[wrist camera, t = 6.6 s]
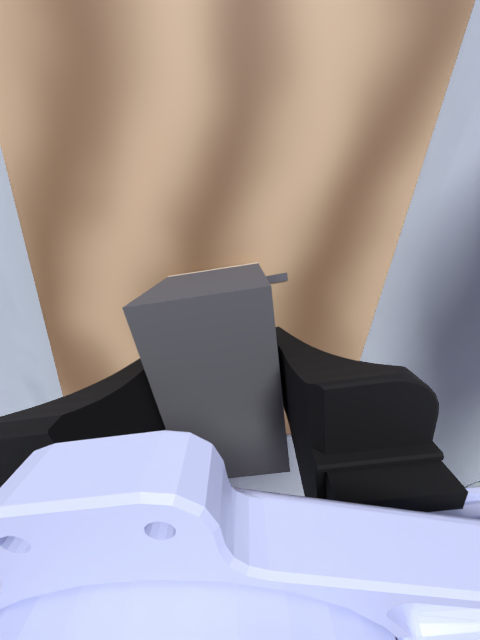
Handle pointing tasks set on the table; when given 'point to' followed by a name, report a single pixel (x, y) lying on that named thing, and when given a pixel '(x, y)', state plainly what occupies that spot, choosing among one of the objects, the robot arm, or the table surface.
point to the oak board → (216, 154)
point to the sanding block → (216, 363)
